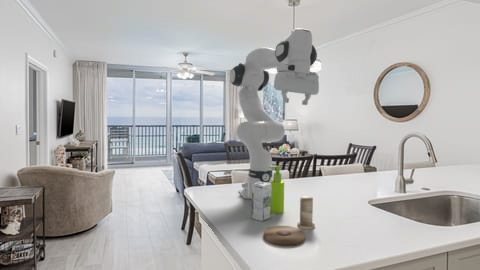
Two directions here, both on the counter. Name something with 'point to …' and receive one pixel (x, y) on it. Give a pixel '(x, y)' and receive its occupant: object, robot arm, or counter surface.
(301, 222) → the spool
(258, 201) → the syrup box
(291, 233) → the base
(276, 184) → the soap dispenser
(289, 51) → the robot arm
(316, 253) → the counter surface
